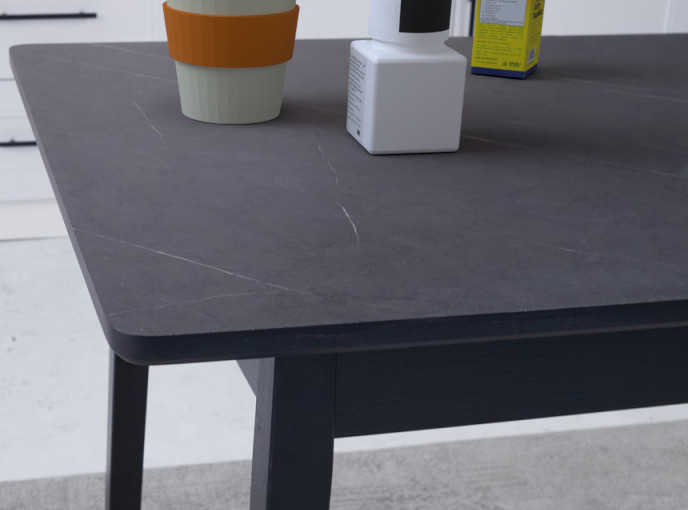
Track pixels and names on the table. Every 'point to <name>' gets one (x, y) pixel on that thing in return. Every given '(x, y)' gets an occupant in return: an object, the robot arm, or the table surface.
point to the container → (406, 80)
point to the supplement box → (507, 37)
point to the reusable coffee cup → (231, 56)
